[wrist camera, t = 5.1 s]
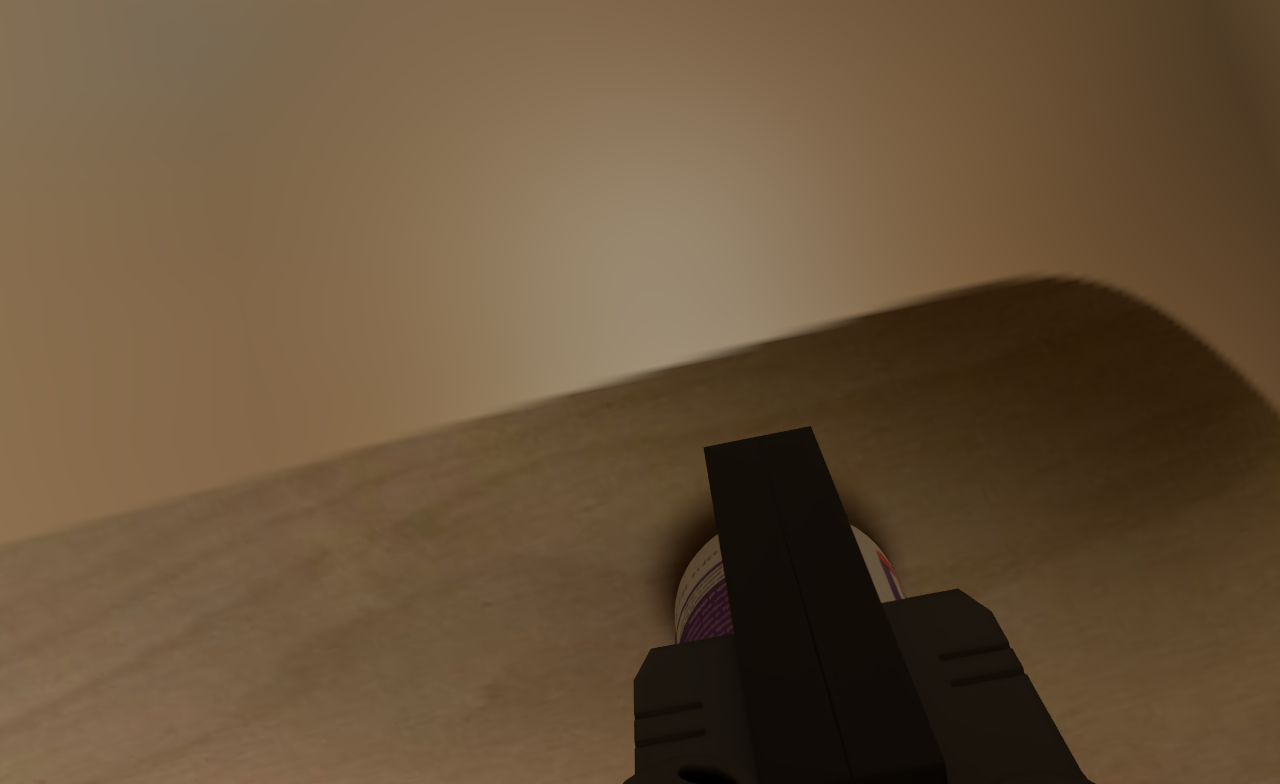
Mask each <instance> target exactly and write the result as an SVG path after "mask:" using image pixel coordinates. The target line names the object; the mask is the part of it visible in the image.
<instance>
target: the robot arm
mask: <svg viewBox="0 0 1280 784" xmlns="http://www.w3.org/2000/svg"><path fill="white" fill-rule="evenodd" d="M704 453H705V459H706V465H707V471H708V478H709V484H710V490H711V496H712V502H713V508H714V514H715V520H716V526H717V532H718V539H719V545H720V551H721V557H722V563H723V569H724V575H725V581H726V587H727V594H728V600H729V606H730V612H731V618H732V624H733V630H734V633H733V634H728V635H722V636H717V637H712V638H706V639H701V640H696V641H690V642H685V643H679V644H674V645H669V646H663V647H658V648H653V649H651V650H650V652H649V653H648V655H647V657H646V659H645V661H644V663H643V664H642V666H641V668H640V670H639V672H638V674H637V675H636V677H635V679H634V715H635V720H634V739H635V747H636V748H635V775H633V776H632V777H630V778H629V779H627V780H626V781H624V783H623V784H1095V783H1093V782H1091V781H1090V780H1088V779H1087V778H1086V776H1085V775H1084V774H1083V772H1082V771H1081V770H1080V768H1079V766H1078V764H1077V762H1076V761H1075V759H1074V757H1073V755H1072V754H1071V752H1070V750H1069V748H1068V747H1067V745H1066V743H1065V741H1064V739H1063V738H1062V736H1061V734H1060V732H1059V731H1058V729H1057V727H1056V725H1055V723H1054V722H1053V720H1052V718H1051V716H1050V715H1049V713H1048V711H1047V709H1046V707H1045V706H1044V704H1043V702H1042V700H1041V699H1040V697H1039V695H1038V693H1037V691H1036V690H1035V688H1034V686H1033V684H1032V683H1031V681H1030V679H1029V677H1028V675H1027V674H1026V675H1025V673H1024V670H1023V667H1022V665H1021V663H1020V661H1019V659H1018V658H1017V656H1016V654H1015V652H1014V651H1013V649H1011V648H1010V646H1009V642H1008V640H1007V638H1006V636H1005V635H1004V633H1003V631H1002V629H1001V628H1000V626H999V624H998V622H997V620H996V619H995V617H994V615H993V613H992V612H991V611H990V610H989V609H987V608H986V607H984V606H983V605H981V604H980V603H978V602H977V601H975V600H974V599H973V598H971V597H970V596H968V595H967V594H965V593H964V592H962V591H961V590H960V589H953V590H948V591H942V592H937V593H932V594H926V595H921V596H915V597H910V598H905V599H899V600H894V601H889V602H883V603H881V600H880V598H879V595H878V593H877V590H876V588H875V585H874V583H873V580H872V578H871V575H870V573H869V570H868V568H867V565H866V563H865V560H864V558H863V555H862V553H861V550H860V548H859V545H858V543H857V540H856V538H855V535H854V533H853V530H852V528H851V525H850V523H849V520H848V518H847V515H846V513H845V510H844V508H843V505H842V503H841V500H840V498H839V495H838V493H837V490H836V488H835V485H834V483H833V480H832V478H831V475H830V473H829V470H828V468H827V465H826V463H825V460H824V458H823V455H822V453H821V450H820V448H819V445H818V443H817V440H816V438H815V435H814V433H813V430H812V428H811V426H809V427H804V428H799V429H794V430H789V431H784V432H778V433H773V434H768V435H763V436H758V437H753V438H748V439H743V440H738V441H733V442H728V443H723V444H718V445H713V446H708V447H704Z"/></svg>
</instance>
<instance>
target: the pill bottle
mask: <svg viewBox="0 0 1280 784" xmlns="http://www.w3.org/2000/svg"><path fill="white" fill-rule="evenodd" d="M851 528H852V530H853V533H854V535H855V538H856V540H857V543H858V545H859V548H860V550H861V553H862V555H863V558H864V560H865V563H866V565H867V568H868V570H869V573H870V575H871V578H872V580H873V583H874V585H875V588H876V590H877V593H878V595H879V598H880V600H881V603H883V602H889V601H894V600H899V599H905V598H907V597H906V595H905V593H904V591H903V589H902V586H901V583H900V581H899V579H898V577H897V575H896V574H895V572H894V570H893V568H892V566H891V564H890V562H889V561H888V559H887V558H886V556H885V555H884V553H883V552H882V551H881V549H880V548H879V547H878V546H877V545H876V544H875V543H874V542H873V541H872V540H871V539H870V538H869V537H868V536H867V535H865V534H864V533H863V532H861V531H860V530H859V529H857V528H856V527H854V526H852V525H851ZM733 633H734V630H733V624H732V618H731V612H730V606H729V600H728V594H727V587H726V581H725V575H724V569H723V563H722V557H721V551H720V545H719V539H718V534H717V535H716V536H714V537H713V538H712V539H710V540H709V541H708V542H707V543H706V544H705V545H704V546H703V547H702V548H701V549H700V550H699V552H698V553H697V554H696V555H695V557H694V558H693V559H692V561H691V562H690V564H689V565H688V567H687V569H686V571H685V573H684V575H683V577H682V579H681V582H680V585H679V588H678V592H677V596H676V602H675V643H676V644H679V643H685V642H690V641H696V640H701V639H706V638H712V637H717V636H722V635H728V634H733Z"/></svg>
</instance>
